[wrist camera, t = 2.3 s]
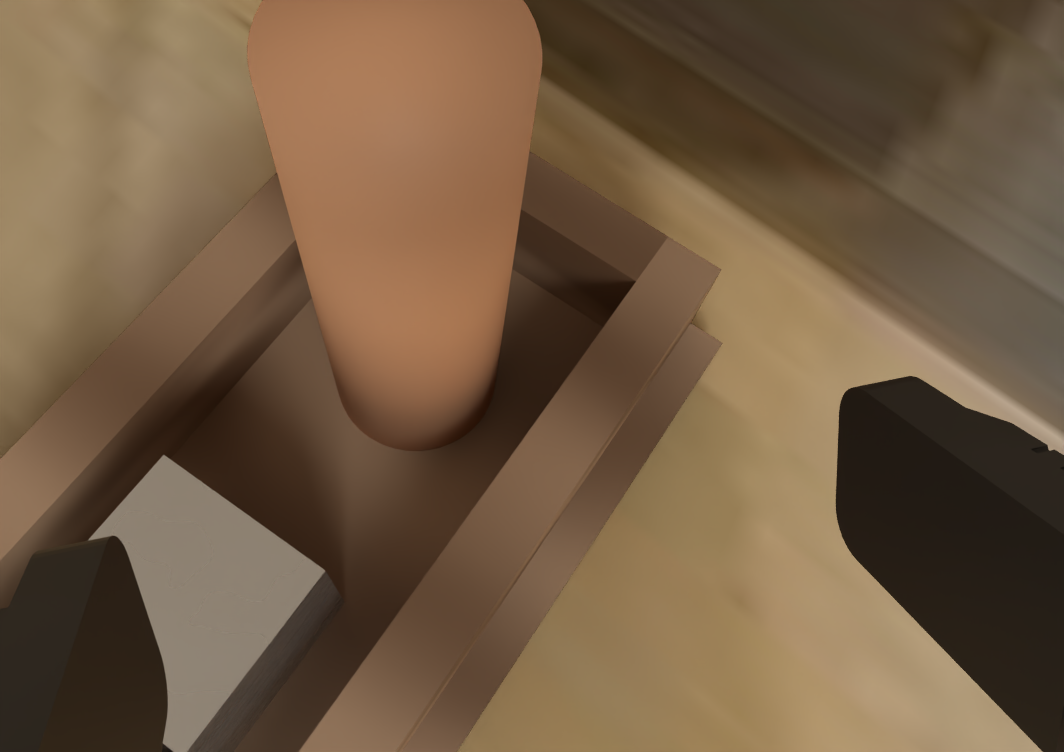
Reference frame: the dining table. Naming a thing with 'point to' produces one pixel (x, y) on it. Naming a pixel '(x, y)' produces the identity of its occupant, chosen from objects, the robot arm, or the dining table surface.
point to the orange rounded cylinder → (403, 192)
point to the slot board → (385, 455)
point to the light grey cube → (217, 604)
